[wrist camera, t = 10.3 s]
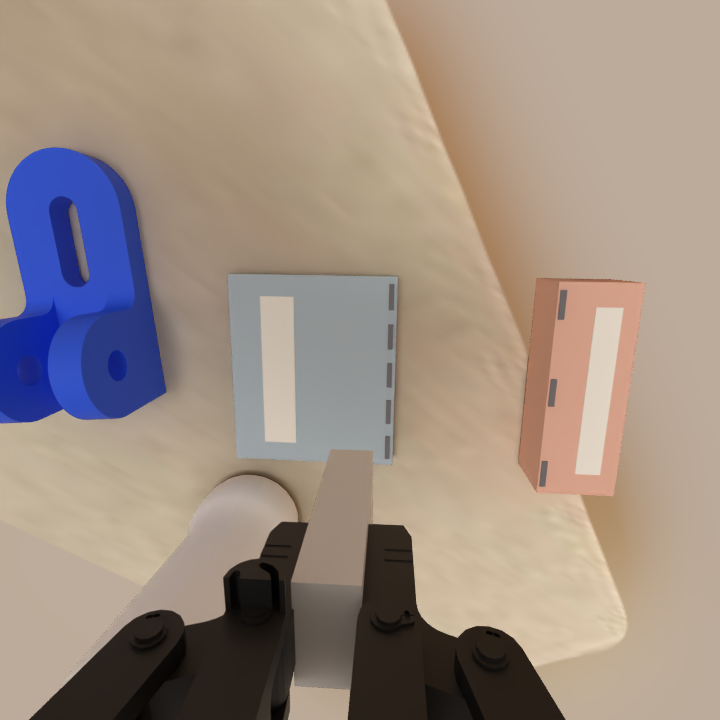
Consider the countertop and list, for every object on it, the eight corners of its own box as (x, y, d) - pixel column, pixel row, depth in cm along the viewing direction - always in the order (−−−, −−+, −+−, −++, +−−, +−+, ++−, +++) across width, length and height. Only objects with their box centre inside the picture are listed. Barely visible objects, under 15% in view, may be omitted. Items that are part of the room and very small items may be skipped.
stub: (536, 278, 32) (560, 281, 27) (610, 279, 31) (646, 282, 27) (518, 462, 35) (537, 493, 30) (585, 465, 34) (614, 496, 30)
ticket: (234, 273, 33) (226, 274, 32) (397, 275, 33) (398, 276, 31) (243, 450, 36) (236, 458, 35) (392, 456, 36) (392, 465, 34)
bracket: (167, 391, 36) (94, 434, 27) (69, 396, 37) (-33, 439, 28) (126, 149, 32) (26, 108, 23) (18, 159, 33) (-119, 124, 24)
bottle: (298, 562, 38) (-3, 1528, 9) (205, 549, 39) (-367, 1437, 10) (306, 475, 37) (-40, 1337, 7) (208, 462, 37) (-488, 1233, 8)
